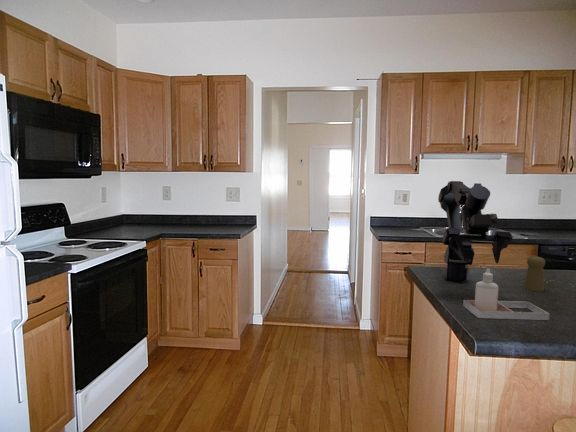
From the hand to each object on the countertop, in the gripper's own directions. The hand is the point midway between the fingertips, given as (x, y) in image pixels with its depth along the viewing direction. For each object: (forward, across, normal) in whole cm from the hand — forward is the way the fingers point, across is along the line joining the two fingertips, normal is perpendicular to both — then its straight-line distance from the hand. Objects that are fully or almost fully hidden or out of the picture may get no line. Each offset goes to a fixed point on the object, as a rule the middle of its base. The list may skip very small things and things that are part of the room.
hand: (480, 261), depth 115 cm
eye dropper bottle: (+14, 0, +3) cm, 15 cm away
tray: (+14, +5, +3) cm, 15 cm away
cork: (-5, +24, +22) cm, 33 cm away
